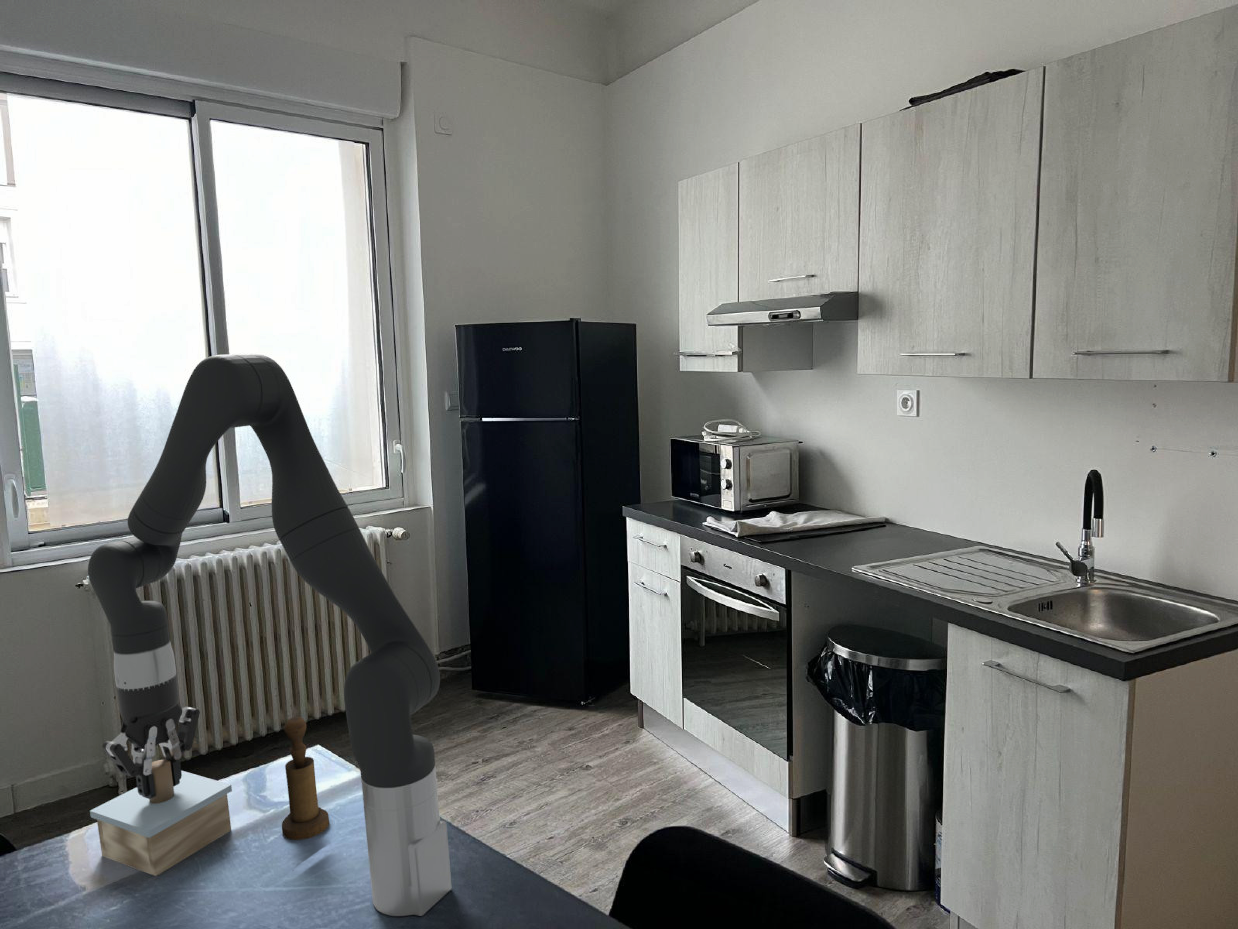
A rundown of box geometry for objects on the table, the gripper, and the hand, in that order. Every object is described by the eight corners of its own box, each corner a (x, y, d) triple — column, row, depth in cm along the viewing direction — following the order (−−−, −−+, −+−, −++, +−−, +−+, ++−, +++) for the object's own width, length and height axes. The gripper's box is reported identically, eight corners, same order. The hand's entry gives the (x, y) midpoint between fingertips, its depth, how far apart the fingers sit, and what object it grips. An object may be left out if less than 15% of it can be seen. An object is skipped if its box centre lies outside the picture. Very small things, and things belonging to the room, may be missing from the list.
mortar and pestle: (337, 821, 129) (326, 709, 127) (318, 846, 123) (306, 728, 120) (295, 821, 130) (283, 709, 128) (274, 846, 124) (261, 728, 121)
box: (232, 836, 127) (226, 792, 126) (156, 882, 116) (150, 835, 115) (179, 819, 132) (173, 776, 131) (103, 862, 122) (96, 816, 121)
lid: (231, 791, 126) (227, 753, 125) (149, 838, 115) (143, 796, 114) (174, 774, 132) (170, 738, 131) (90, 817, 120) (85, 777, 120)
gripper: (114, 699, 113) (130, 821, 115) (207, 662, 125) (221, 772, 127) (80, 691, 116) (97, 809, 118) (174, 656, 128) (188, 763, 131)
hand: (161, 790), depth 123 cm, fingers closed on lid, 3 cm apart
